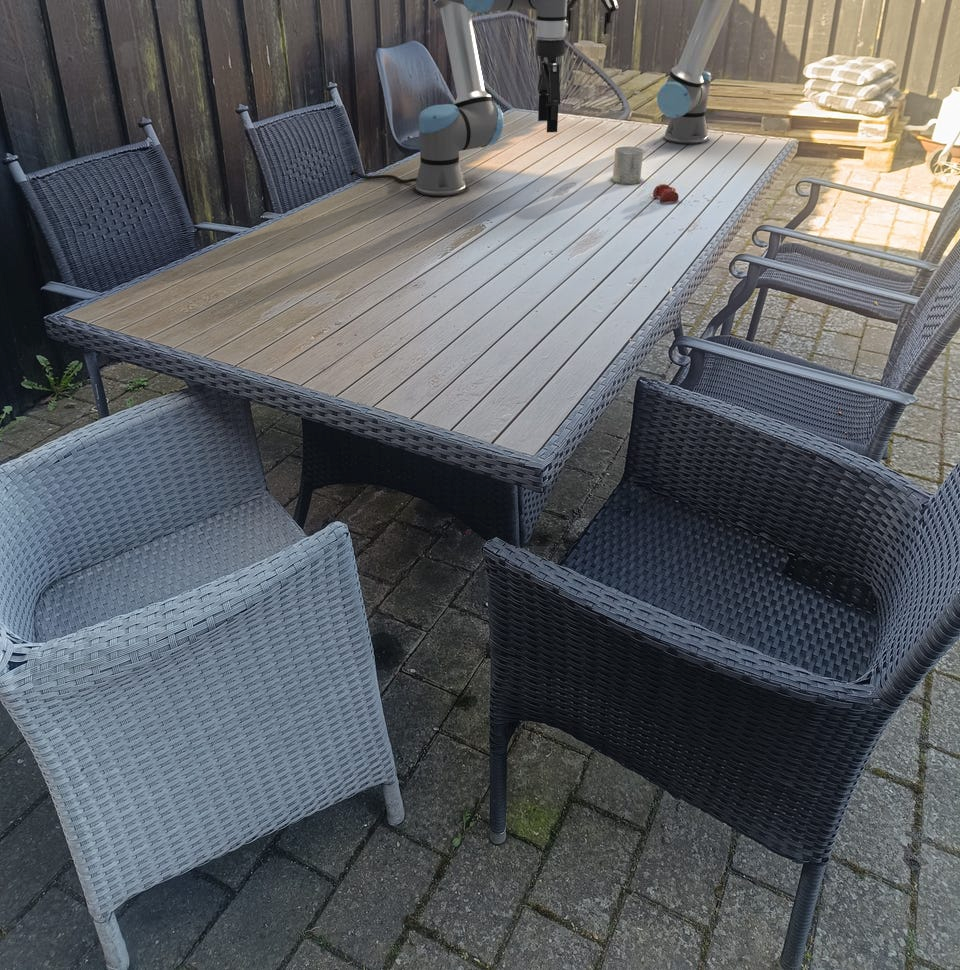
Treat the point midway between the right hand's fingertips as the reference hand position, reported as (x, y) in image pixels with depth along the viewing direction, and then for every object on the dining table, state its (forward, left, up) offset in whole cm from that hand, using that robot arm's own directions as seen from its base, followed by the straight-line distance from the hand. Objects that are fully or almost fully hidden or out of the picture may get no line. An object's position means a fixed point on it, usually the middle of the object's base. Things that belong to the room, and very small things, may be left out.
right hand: (588, 32), depth 295 cm
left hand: (+88, +27, -11) cm, 93 cm away
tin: (+48, +36, -34) cm, 69 cm away
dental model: (+61, +54, -34) cm, 88 cm away
